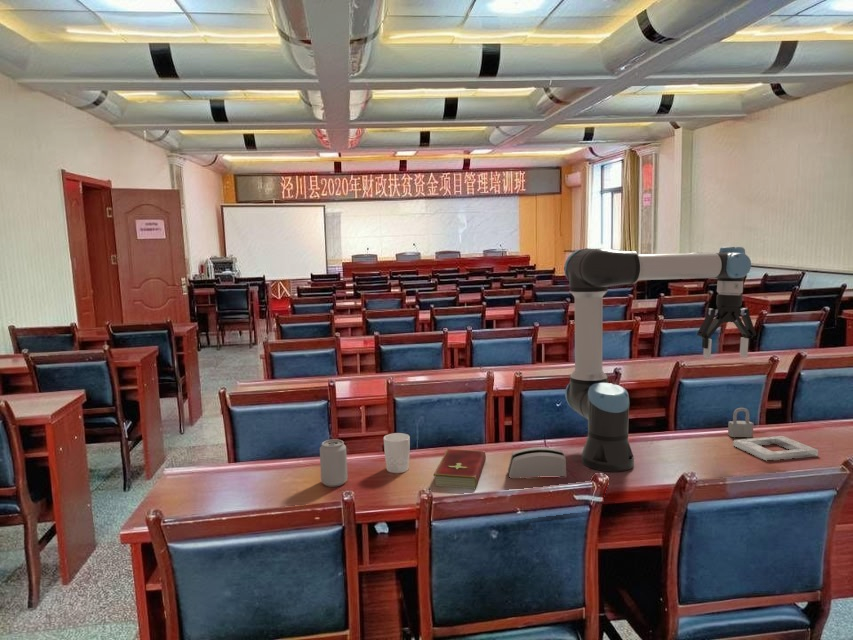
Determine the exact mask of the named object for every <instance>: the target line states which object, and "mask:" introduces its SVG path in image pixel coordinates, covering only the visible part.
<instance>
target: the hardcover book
mask: <svg viewBox="0 0 853 640" xmlns="http://www.w3.org/2000/svg"><path fill="white" fill-rule="evenodd" d="M486 455H487V453H486V451H485V450H477V449H462V448H461V449H459V448H447V449H446V451H445V453H444V454H443V456H442V458H441V460H440V462H439V464H438V466H437V468H436V470H435V471H434V473H433V476H434V477H435V479H434V480H435V487H446V488H460V489H461V488H463V489H473V488H475V489H474V490H477V489H478V485H479V482H480V479H481V476H482V472H483V470H484V467H485V465H486V460H487V458H486V457H487V456H486Z"/></svg>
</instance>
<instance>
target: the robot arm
mask: <svg viewBox="0 0 853 640" xmlns="http://www.w3.org/2000/svg"><path fill="white" fill-rule="evenodd" d="M563 268H564V269H563V270H564V275H565V278H566V279H567V281H569V294H571V295H572V296H573V298H574V371H573V372H571V373H570V376H569V377H570V378H569V383H568V384H567V385H566V387H565V390H564V391H565V393H564V394H565V395H564V396H565V400H566V402H567V404H568V406H569V407H570V408H571V410H573V412H575V413H576V414H578V415H580V416H582V417H583V418H585V420H587V438H586V441H585V444H584V447H583V449H582V452H581V462H582V464H583V465H585V466H586V467H587V468H588V467H589V468H590V469H593V470H597V471H603V472H610V473H611V472H623V471H624V472H625V471H628V470H631V469H632V468H634V467H635V457H634V453H633V451H632V448H631V444H630V441H629V419H630V418H629V416H630V415H629V414H630V413H629V411H630V397H629V392H628V390H627V389H625V387H623V386H621V385H618V384H614V383H611V382H610V383H609V382H608V375H607V374H606V372H604V370H603V311H604V310H603V309H604V308H603V306H604V305H603V297H604V296H605V295H606V294H607V293H608V291H609V290H608V287H613V286H614V287H615V286H621V285H634V284H636V283H637V282H639V281H651V280H654V281H655V280H656V281H657V280H680V279H681V280H682V279H683V280H686V279H689V280H690V279H717V281H716V282H717V285H716V292H717V294H716V302H715V304H716V309H715V308H710V307H709V308H707V311H706V316H705V318H704V320H703V322H702V323H701V325H700V327H699V329H698V330H697V332H696V336H697V337H700V338H701V339H702V343H701V348H702V349H703V351H702V352H703V354H702V358H704V359H707V360H711V356H712V355H711V354H712V341H713V339H711V337H712V336H713V334H715V332H716V331H717V330H718V328H719V327H720V326H721V325H722V324H724V323H732V324H734V326H736V328H737V330H738V331H739V332H740V334H741V335H742V337H740V343H739V357H740V358H744V359H747V358H748V355H749V354H748V351H749V348H750V345H751V339H753V338H754V337H756V336H757V332H756V329H755V327H754V324H753V322H752V319H751V316H750V309H749V308H745V307H742V304H743V296H742V294H743V292H744V278H745V276H747V275H748V274H749V273H750V272H751V271H750V270H751V269H752V261H751V259H750V257H749V256H748V255H747V254H746V249H745V248H744V247H742V246H721V247H719V251H718V252H699V251H698V252H690V253H659V254H658V253H653V254H650V253H649V254H639V253H637V251H633V250H632V251H629V250H628V251H627V250H615V249H609V248H608V249H607V248H588V247H586V248H581V249H577V250H575V251H573V252H572V253H570V255H569V256H568V257H567V259H566V260H565V262H564V267H563ZM740 316H741V317H740Z"/></svg>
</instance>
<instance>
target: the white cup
mask: <svg viewBox="0 0 853 640" xmlns="http://www.w3.org/2000/svg"><path fill="white" fill-rule="evenodd" d="M410 437H411V436H410V435H409V434H407V433H402V432H394V433H389V434H386V435H384V436H383V449H384V457H385V460H384V461H385V466H386V471H387V472H389V473H392V474H401V473H405V472H407V471H408V470H409V465H410V464H409V463H410V452H411V451H410V450H411V449H410V446H411V445H410V442H411V441H410V440H411V439H410Z"/></svg>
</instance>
